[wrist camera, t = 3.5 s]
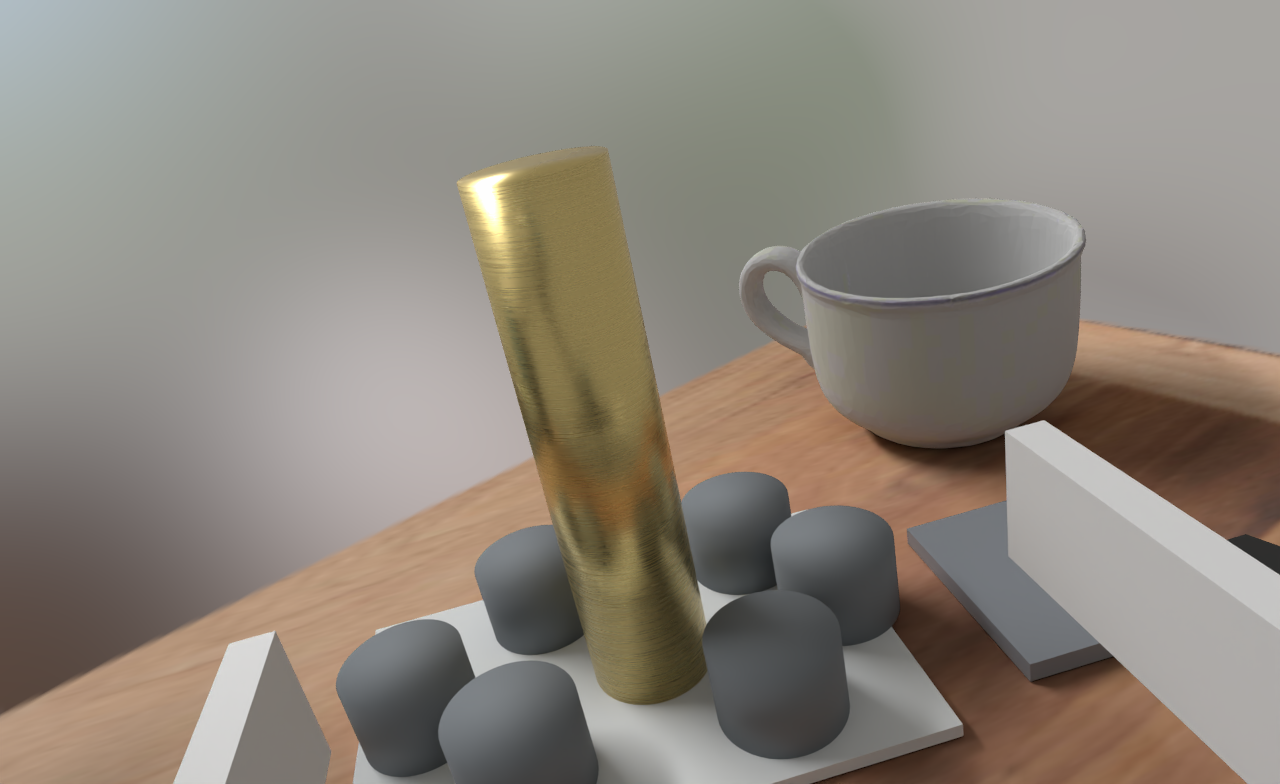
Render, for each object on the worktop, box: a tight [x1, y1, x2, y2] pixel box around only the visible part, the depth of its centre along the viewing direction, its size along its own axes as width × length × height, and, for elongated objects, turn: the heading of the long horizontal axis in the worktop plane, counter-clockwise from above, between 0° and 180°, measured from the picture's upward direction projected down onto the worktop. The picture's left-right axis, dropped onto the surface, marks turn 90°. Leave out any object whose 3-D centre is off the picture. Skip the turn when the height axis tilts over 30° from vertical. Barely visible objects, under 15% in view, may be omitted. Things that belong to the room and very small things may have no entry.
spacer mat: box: [336, 472, 964, 784], centre depth 26 cm, size 17×11×3 cm, turn 101°
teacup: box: [739, 198, 1086, 449], centre depth 37 cm, size 14×11×8 cm
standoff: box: [457, 146, 707, 705], centre depth 23 cm, size 4×4×15 cm
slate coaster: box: [907, 501, 1113, 682], centre depth 26 cm, size 7×7×1 cm
